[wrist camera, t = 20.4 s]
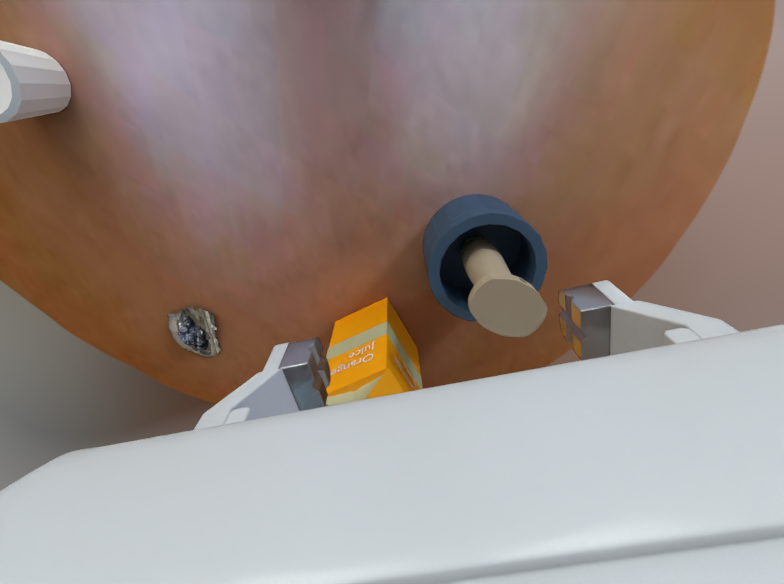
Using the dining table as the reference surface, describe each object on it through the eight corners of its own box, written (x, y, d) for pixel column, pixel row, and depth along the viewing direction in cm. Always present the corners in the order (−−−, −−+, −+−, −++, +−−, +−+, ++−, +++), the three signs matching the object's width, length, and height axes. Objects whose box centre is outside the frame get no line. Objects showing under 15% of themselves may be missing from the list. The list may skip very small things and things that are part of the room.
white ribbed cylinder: (92, 86, 40) (36, 84, 34) (55, 134, 42) (-5, 141, 35) (25, 22, 38) (-49, 8, 31) (-11, 77, 39) (-87, 74, 33)
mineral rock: (205, 297, 50) (199, 304, 48) (237, 348, 53) (232, 357, 52) (158, 314, 51) (150, 321, 49) (193, 363, 54) (186, 372, 53)
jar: (414, 207, 45) (418, 228, 38) (518, 183, 44) (543, 200, 37) (432, 297, 50) (439, 331, 43) (526, 278, 49) (550, 309, 42)
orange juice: (367, 371, 55) (356, 505, 37) (334, 321, 52) (304, 442, 34) (419, 349, 54) (434, 477, 35) (388, 296, 50) (387, 408, 32)
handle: (486, 275, 48) (523, 346, 35) (439, 252, 47) (459, 316, 33) (509, 241, 46) (558, 301, 33) (461, 216, 45) (492, 267, 31)
